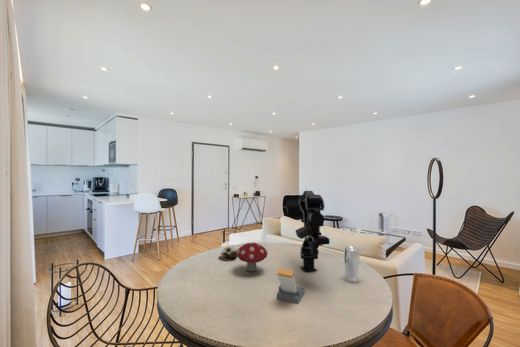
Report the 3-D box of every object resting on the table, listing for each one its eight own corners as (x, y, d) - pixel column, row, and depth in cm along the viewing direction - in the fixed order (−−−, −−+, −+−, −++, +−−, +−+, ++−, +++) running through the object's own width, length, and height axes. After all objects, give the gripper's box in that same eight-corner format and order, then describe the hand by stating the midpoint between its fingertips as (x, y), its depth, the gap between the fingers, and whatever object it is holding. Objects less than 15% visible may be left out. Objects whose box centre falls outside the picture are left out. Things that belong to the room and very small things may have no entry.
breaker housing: (284, 288, 107) (284, 279, 107) (304, 292, 103) (304, 283, 103) (276, 298, 98) (276, 288, 98) (298, 303, 94) (298, 293, 94)
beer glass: (360, 283, 112) (360, 251, 112) (344, 282, 113) (345, 250, 113) (357, 277, 119) (357, 247, 119) (342, 276, 120) (343, 246, 120)
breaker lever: (283, 287, 101) (278, 268, 96) (297, 290, 99) (293, 271, 93) (282, 292, 100) (277, 272, 94) (296, 295, 97) (291, 275, 92)
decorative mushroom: (273, 271, 125) (273, 242, 125) (251, 281, 114) (252, 249, 114) (251, 263, 136) (251, 236, 136) (229, 271, 124) (230, 242, 124)
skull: (214, 259, 139) (219, 242, 146) (220, 266, 147) (224, 250, 154) (234, 260, 137) (238, 243, 143) (239, 267, 144) (242, 251, 151)
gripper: (289, 218, 120) (289, 249, 120) (307, 226, 102) (307, 263, 102) (309, 217, 123) (309, 247, 123) (330, 225, 105) (330, 260, 105)
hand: (313, 254), depth 114 cm, fingers closed
